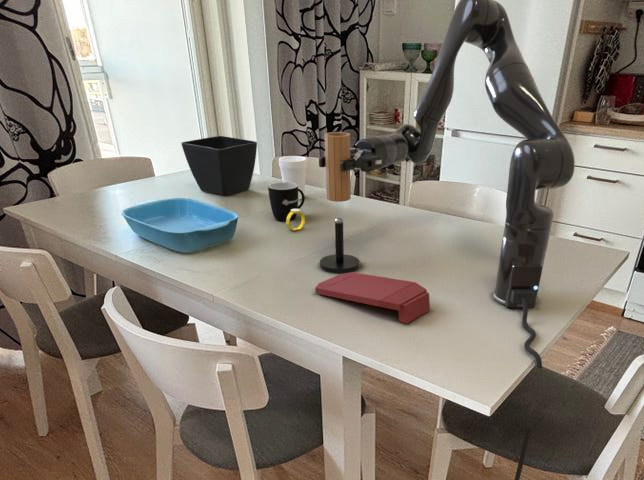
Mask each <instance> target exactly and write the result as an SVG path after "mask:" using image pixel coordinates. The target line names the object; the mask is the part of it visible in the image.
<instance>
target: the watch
mask: <svg viewBox="0 0 644 480" xmlns="http://www.w3.org/2000/svg"><path fill="white" fill-rule="evenodd" d="M294 213H297V214H299V215H300V217H301V221H300V224H299V226H298V227H294V228H293V227H292V226H291V224H290V223H291V221H290V218H291V216H292V215H293V214H294ZM305 223H306V216H305V214H304V212H302V211H301V208H300V209H291V212H290V213H289V214H288V216H287V219H286V221H285V224H286V227H287V228H288V229H289V230H290V231H292V232H294V231H295V232H296V231H300V230H302V229H303V227H304V226H305Z"/></svg>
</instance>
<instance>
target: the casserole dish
mask: <svg viewBox="0 0 644 480" xmlns="http://www.w3.org/2000/svg"><path fill="white" fill-rule="evenodd" d="M121 215H122V217H123V219H124V220H125V222H126V224H127V225H128V226H129V228H130V229H131V230H132V232H133V233H134V234H136V235H137V236H139V237H140V238H143V239H145V240H147V241H149V242H151V243H155V244H157V245H159V246H162V247H164V248H167V249H168V250H172V251H175V252H178V253H183V254H189V253H190V254H191V253H195V252H199V251H203V250H206V249H210V248H211V247H212V248H213V247H216V246H219V245H222V244H223V245H224V244H225V243H228V242H229V241H231V240H232V239H233V237H234V236H235V234H236V230H237V225H238V220H239V215H238V213H236V212H234V211H232V210H229V209H226V208H224V207H220V206H217V205H214V204H210V203H207V202H204V201H202V200H198V199H194V198H189V197H171V198H164V199H153V200H148V201H143V202H139V203H136V204H134V205H133V206H129V207H127V208H124V209H123V210H122V211H121Z"/></svg>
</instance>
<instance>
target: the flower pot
mask: <svg viewBox="0 0 644 480" xmlns="http://www.w3.org/2000/svg"><path fill="white" fill-rule="evenodd" d="M180 144H181V148H182V151H183V155H184V157H185V159H186V162H187V165H188V167H189V170H190V172H191V174H192V176H193V178H194V180H195V182H196V184H197V186H198V188H199V190H200V191H201V192H206V193H210V194H214V195H219V196H222V197H227V196H231V195H234V194H239V193H241V192H245V191H248V190H249V189H250V186H251V183H252V180H253V176H254V170H255V165H256V159H257V149H258V141H254V140H248V139H243V138H237V137H231V136H224V135H216V136H210V137H204V138H199V139H198V138H197V139H192V140H186V141H182V142H180Z"/></svg>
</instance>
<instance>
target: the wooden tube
mask: <svg viewBox="0 0 644 480" xmlns="http://www.w3.org/2000/svg"><path fill="white" fill-rule="evenodd" d="M350 148H351V133H349V132H343V131H333V132H332V131H331V132H326V133H324V156H325V161H326V167H325V187H326V200H327V201H329V202H340V203H341V202H348V201H350V200H351V199H352V196H351V193H352V190H351V189H352V188H351V187H352V186H351V185H352V183H351V181H352V180H351V175H352V174H351V170H348V171H345V172H343V171H341V170H340V162H341V161H343V160H347V159H350Z"/></svg>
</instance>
